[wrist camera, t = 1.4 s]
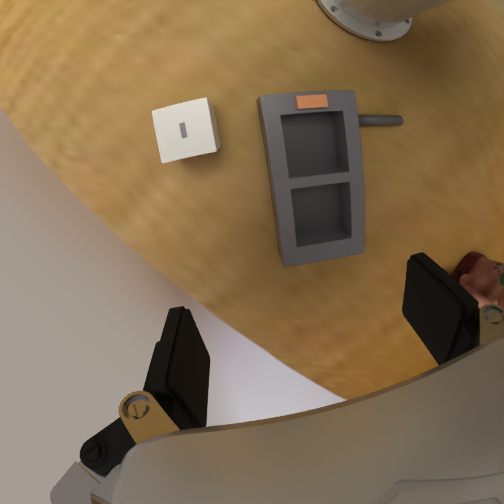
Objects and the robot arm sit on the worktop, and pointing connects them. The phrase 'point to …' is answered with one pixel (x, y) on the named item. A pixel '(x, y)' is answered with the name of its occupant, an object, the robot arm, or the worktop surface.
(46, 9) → the worktop surface
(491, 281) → the decorative planter
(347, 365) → the worktop surface
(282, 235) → the power strip
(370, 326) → the worktop surface
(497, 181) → the worktop surface
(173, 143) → the block
